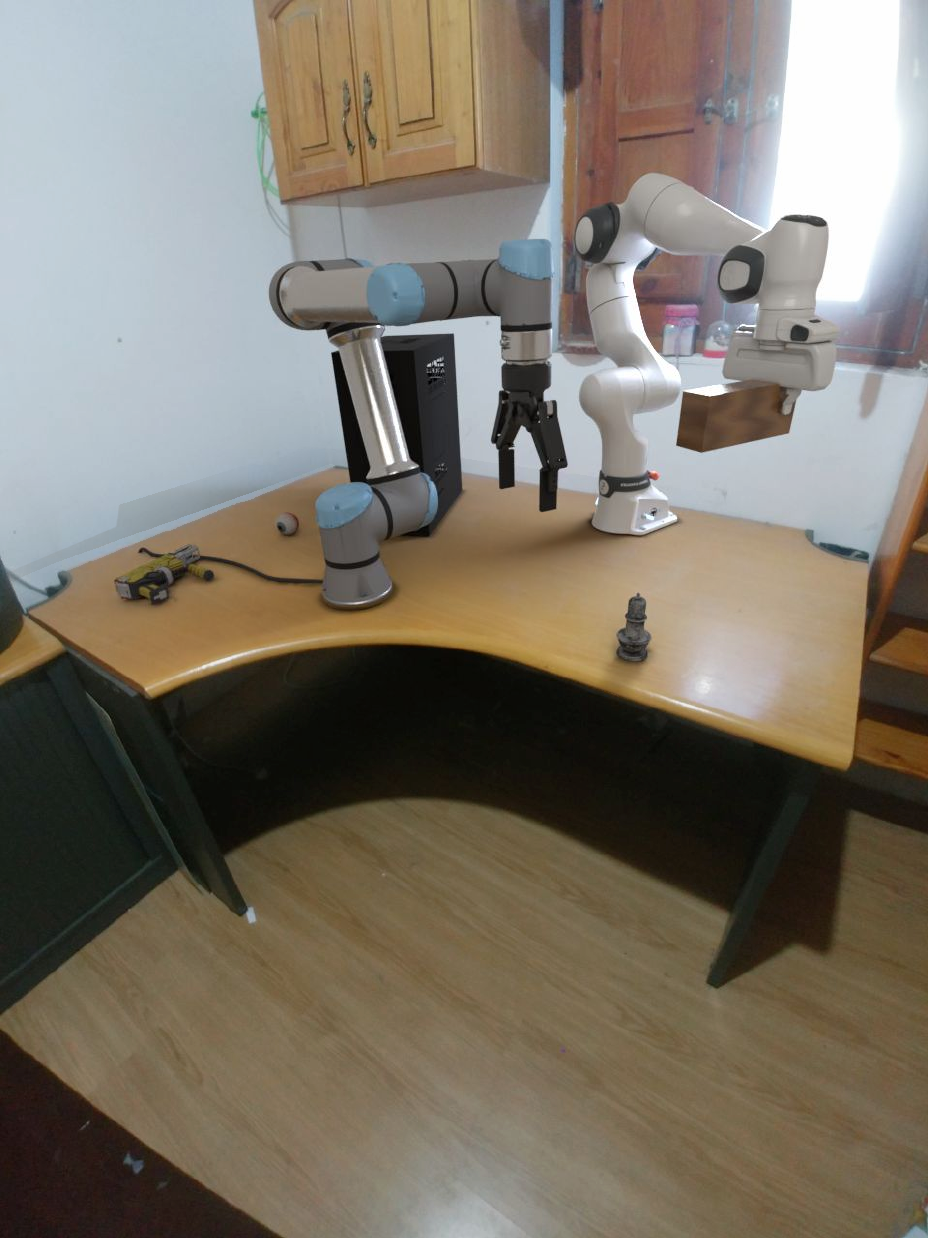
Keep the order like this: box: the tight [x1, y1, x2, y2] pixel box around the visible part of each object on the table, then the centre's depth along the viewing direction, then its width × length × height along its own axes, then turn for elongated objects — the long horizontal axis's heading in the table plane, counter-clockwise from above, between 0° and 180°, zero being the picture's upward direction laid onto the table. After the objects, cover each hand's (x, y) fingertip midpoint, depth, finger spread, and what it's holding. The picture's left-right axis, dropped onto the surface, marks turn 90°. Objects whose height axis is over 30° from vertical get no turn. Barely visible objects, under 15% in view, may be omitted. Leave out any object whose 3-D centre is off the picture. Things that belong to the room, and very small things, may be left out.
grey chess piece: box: [616, 592, 652, 662], centre depth 103 cm, size 6×6×12 cm
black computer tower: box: [330, 332, 463, 537], centre depth 165 cm, size 38×20×45 cm, turn 167°
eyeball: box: [275, 511, 300, 536], centre depth 163 cm, size 6×6×6 cm
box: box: [675, 380, 798, 454], centre depth 108 cm, size 22×6×9 cm, turn 117°
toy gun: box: [113, 543, 215, 606], centre depth 141 cm, size 5×24×15 cm
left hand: (526, 498), depth 101 cm, fingers open, 13 cm apart
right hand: (766, 410), depth 111 cm, fingers closed on box, 6 cm apart
